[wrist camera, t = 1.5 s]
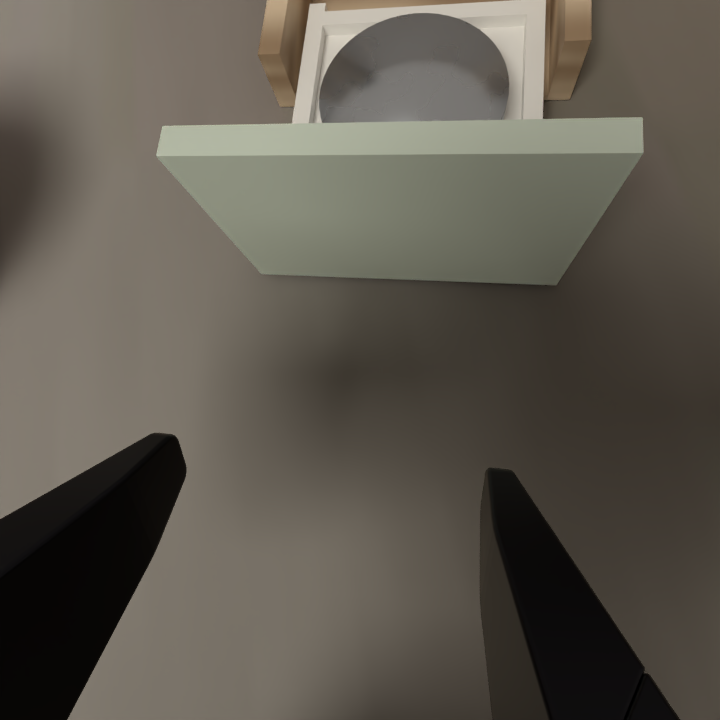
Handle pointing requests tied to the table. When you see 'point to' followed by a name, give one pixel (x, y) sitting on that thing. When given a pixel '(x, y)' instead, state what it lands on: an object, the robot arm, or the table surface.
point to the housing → (292, 3)
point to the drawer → (412, 172)
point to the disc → (416, 73)
